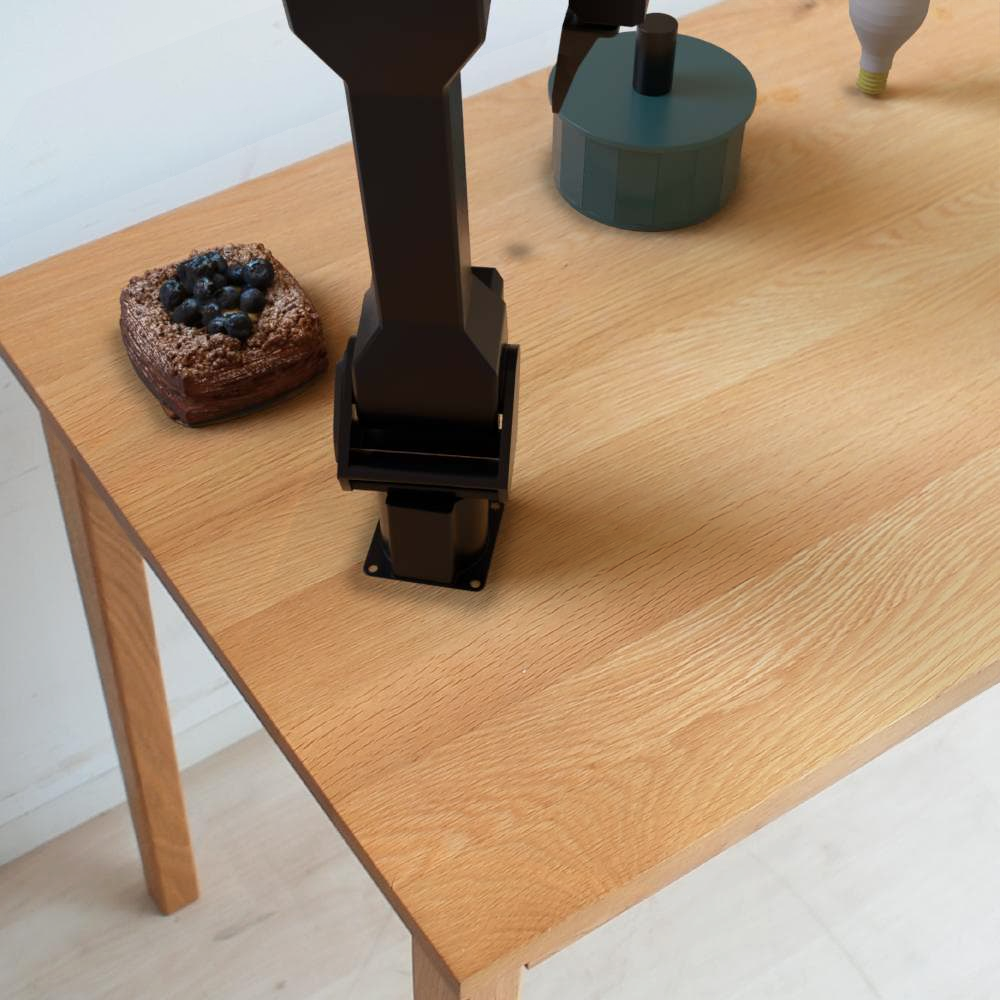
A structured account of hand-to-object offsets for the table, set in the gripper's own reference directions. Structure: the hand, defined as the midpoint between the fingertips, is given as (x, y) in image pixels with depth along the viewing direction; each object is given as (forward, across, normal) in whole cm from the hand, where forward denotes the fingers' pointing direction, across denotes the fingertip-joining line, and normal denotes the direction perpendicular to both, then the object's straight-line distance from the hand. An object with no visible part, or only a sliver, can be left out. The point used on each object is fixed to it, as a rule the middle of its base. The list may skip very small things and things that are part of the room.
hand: (477, 100), depth 82 cm
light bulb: (+13, -24, -26) cm, 38 cm away
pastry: (+13, +14, +10) cm, 21 cm away
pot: (+13, -9, -13) cm, 20 cm away
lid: (+6, -9, -13) cm, 17 cm away
